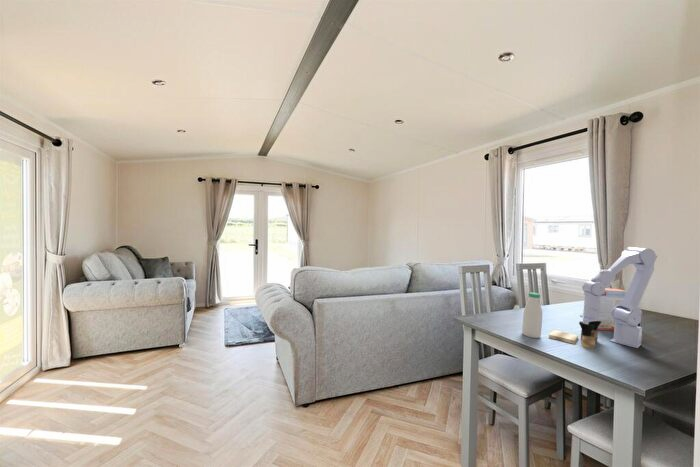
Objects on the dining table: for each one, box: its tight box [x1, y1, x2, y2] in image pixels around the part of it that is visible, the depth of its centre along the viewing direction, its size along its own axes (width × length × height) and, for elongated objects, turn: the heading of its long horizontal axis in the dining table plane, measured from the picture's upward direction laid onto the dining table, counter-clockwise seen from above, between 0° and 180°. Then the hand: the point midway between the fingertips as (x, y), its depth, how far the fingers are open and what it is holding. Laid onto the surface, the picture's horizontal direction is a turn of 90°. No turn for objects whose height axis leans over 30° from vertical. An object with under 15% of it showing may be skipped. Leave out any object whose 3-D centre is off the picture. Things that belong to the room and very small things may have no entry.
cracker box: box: [597, 287, 627, 332], centre depth 167 cm, size 14×6×21 cm, turn 84°
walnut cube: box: [580, 329, 599, 344], centre depth 148 cm, size 5×5×5 cm
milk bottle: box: [521, 292, 543, 339], centre depth 151 cm, size 8×8×20 cm
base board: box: [548, 329, 579, 345], centre depth 150 cm, size 10×10×2 cm
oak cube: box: [580, 335, 596, 350], centre depth 141 cm, size 4×4×4 cm
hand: (589, 337), depth 148 cm, fingers open, 7 cm apart
